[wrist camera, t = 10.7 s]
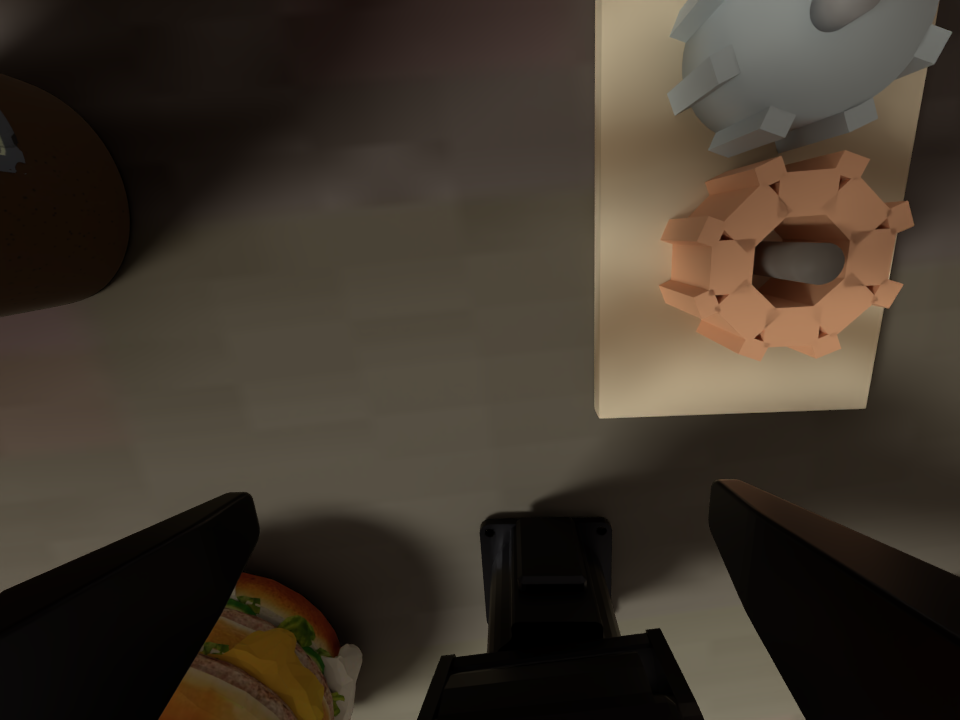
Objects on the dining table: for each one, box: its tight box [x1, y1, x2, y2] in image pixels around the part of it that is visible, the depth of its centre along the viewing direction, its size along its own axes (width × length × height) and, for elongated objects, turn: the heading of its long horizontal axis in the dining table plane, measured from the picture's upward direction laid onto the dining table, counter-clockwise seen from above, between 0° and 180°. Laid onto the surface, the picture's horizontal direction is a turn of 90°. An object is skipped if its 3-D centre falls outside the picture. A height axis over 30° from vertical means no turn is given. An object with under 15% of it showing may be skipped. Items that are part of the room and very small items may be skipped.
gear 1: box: [667, 0, 952, 158], centre depth 13 cm, size 6×6×4 cm
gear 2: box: [659, 150, 914, 362], centre depth 16 cm, size 6×6×4 cm
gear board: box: [594, 0, 940, 418], centre depth 15 cm, size 20×11×6 cm, turn 4°
